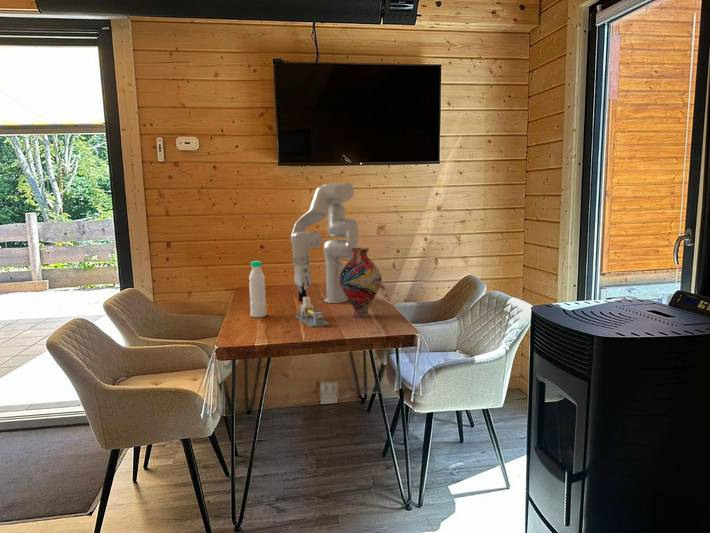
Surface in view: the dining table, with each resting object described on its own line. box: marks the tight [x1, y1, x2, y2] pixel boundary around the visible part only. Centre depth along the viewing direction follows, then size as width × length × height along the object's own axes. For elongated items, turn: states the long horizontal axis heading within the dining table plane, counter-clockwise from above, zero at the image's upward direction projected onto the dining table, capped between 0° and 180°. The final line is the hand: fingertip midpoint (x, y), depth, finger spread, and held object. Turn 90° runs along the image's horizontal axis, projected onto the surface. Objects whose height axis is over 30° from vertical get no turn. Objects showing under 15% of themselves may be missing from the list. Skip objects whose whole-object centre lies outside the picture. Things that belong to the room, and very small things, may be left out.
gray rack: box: [295, 306, 330, 328], centre depth 206 cm, size 20×8×5 cm, turn 25°
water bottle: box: [248, 260, 267, 318], centre depth 216 cm, size 7×7×25 cm
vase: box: [339, 247, 383, 318], centre depth 213 cm, size 19×19×30 cm
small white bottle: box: [300, 296, 315, 317], centre depth 211 cm, size 4×5×8 cm
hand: (302, 301), depth 216 cm, fingers closed
